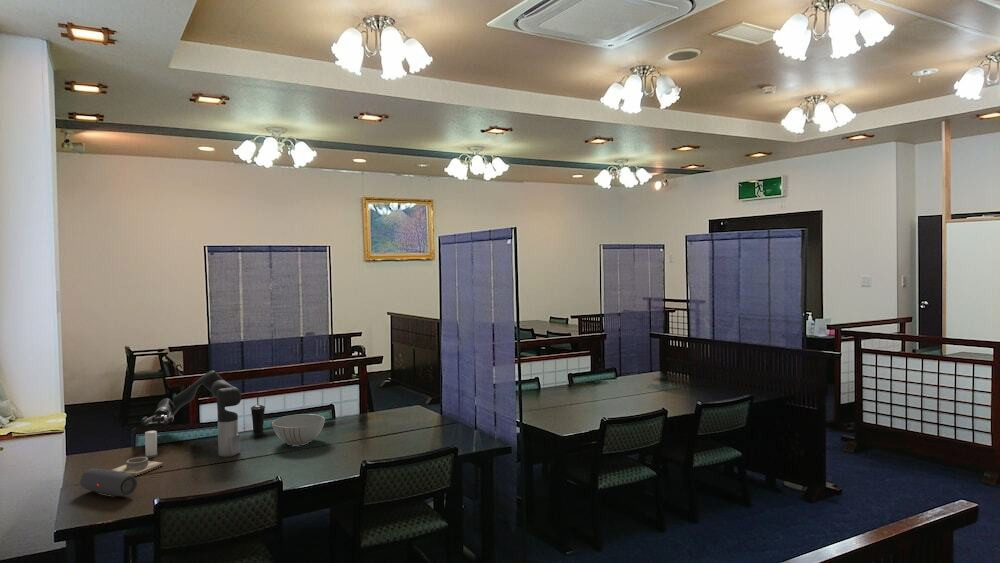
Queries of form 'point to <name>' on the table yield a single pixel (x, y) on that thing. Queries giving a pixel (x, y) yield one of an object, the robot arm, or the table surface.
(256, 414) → the drinking cup
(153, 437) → the duct sleeve
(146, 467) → the duct base
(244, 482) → the table surface
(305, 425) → the decorative bowl
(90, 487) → the bluetooth speaker
